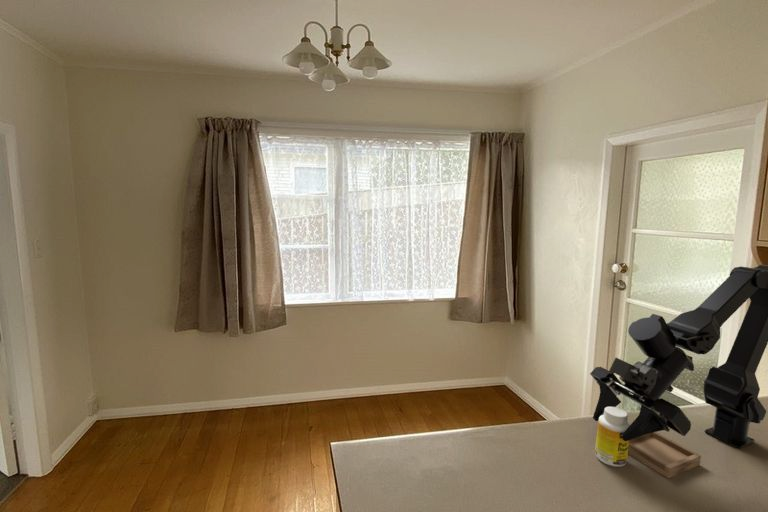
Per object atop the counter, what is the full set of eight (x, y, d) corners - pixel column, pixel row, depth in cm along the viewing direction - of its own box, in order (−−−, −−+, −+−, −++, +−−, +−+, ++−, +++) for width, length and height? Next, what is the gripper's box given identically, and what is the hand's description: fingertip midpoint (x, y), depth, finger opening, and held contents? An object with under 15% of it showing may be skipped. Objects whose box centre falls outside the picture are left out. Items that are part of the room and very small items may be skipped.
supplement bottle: (617, 472, 74) (623, 422, 73) (589, 456, 79) (594, 408, 77) (632, 462, 77) (638, 413, 76) (603, 447, 82) (608, 401, 81)
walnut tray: (648, 436, 86) (649, 428, 86) (699, 465, 77) (701, 455, 77) (617, 447, 82) (618, 438, 82) (668, 478, 73) (669, 468, 73)
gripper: (601, 330, 85) (553, 383, 84) (687, 365, 67) (628, 433, 66) (626, 362, 88) (581, 413, 87) (715, 403, 70) (659, 468, 69)
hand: (608, 429), depth 77 cm, fingers open, 7 cm apart
